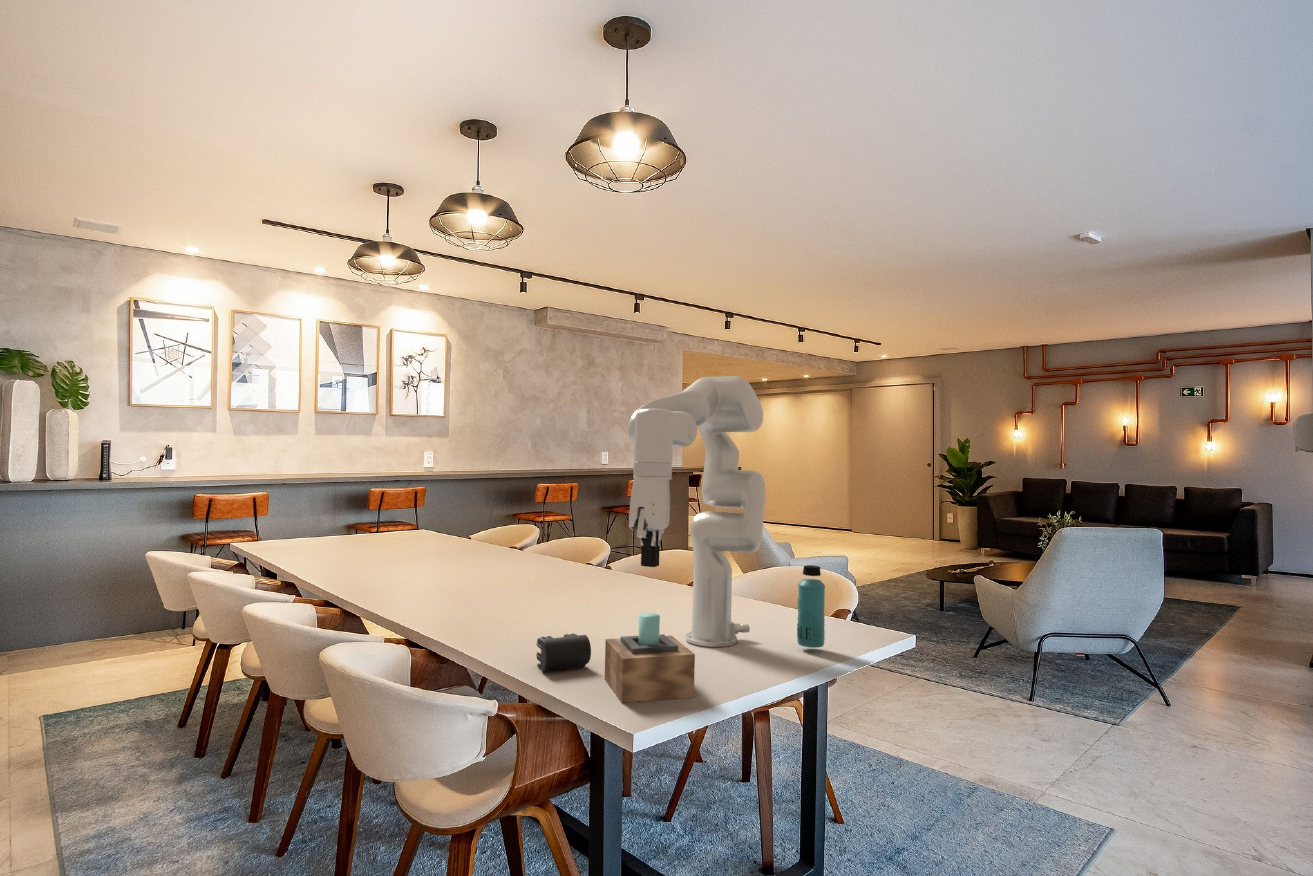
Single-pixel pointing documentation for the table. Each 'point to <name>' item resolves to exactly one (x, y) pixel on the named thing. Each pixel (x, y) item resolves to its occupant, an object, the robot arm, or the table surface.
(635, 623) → the table surface
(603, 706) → the table surface
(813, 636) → the beverage bottle
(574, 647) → the end cap
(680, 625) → the table surface
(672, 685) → the socket block
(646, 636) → the peg
